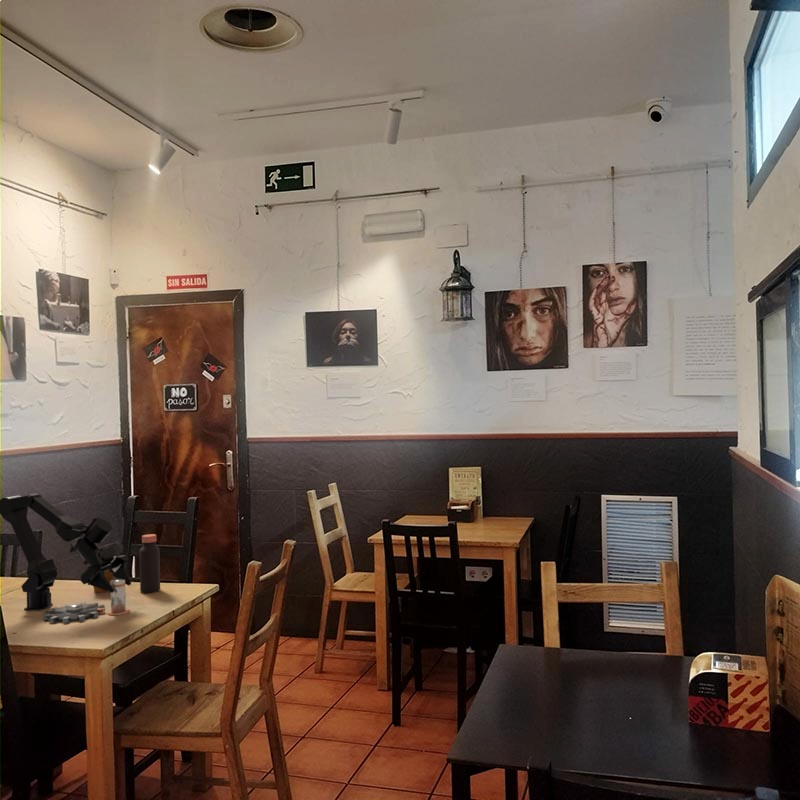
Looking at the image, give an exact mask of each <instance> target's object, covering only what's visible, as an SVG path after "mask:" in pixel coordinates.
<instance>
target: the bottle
mask: <svg viewBox="0 0 800 800" xmlns="http://www.w3.org/2000/svg"><path fill="white" fill-rule="evenodd" d="M141 542H142V543H141V544H142V547H141V548H140V549H139V583H140V584H139V585H140V586H139V589H140V592H141V593H143V594H153V593H157V592H160V590H161V563H160V561H161V560H160V559H161V558H160V556H161V555H160V553H161V552H160V551H161V550H160V547H158V545H156V543H157V534H155V533H152V534H151V533H150V534H144V535H141Z"/></svg>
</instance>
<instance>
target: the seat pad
mask: <svg viewBox="0 0 800 800" xmlns="http://www.w3.org/2000/svg"><path fill="white" fill-rule="evenodd" d="M128 612H129V613H130V612H131V609H130V608H126V611H125V612H122V613H111V609H110V610H108V611H107V612H106V614H107V615H108V616H112V615H115V616H122V614H123V615H125V614H126V613H127V614H129V613H128Z"/></svg>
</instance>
